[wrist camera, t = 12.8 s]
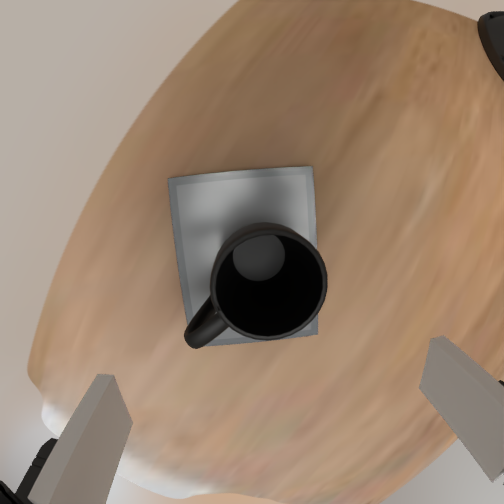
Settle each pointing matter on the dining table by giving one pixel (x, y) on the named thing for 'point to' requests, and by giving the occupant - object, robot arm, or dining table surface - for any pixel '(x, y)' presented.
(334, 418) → the dining table surface
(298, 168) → the slate board
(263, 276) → the mug
